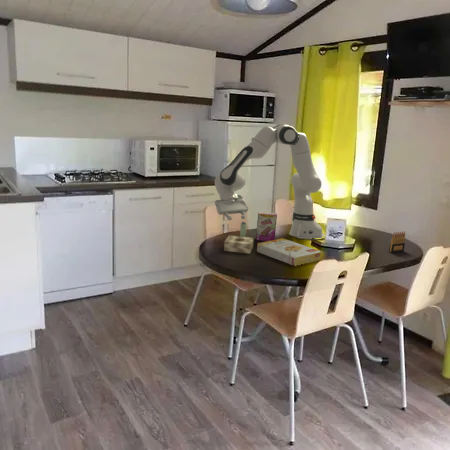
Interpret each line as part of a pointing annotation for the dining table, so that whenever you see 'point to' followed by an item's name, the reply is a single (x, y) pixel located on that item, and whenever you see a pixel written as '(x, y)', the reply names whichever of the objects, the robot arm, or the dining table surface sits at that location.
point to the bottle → (243, 229)
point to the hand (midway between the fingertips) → (237, 219)
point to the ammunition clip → (397, 242)
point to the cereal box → (289, 251)
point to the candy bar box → (266, 226)
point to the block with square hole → (238, 244)
